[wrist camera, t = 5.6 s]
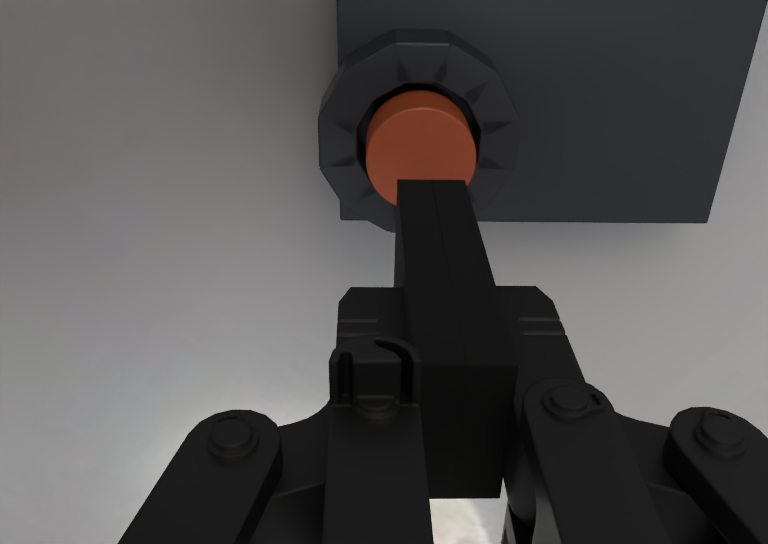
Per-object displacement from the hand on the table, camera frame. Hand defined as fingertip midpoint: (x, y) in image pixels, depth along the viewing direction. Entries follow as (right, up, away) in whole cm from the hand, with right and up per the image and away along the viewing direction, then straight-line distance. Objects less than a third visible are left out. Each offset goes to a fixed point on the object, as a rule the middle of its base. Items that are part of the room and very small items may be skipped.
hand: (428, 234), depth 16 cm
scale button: (0, +3, +6) cm, 7 cm away
